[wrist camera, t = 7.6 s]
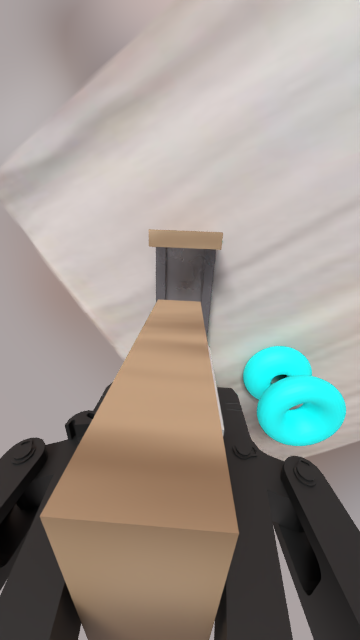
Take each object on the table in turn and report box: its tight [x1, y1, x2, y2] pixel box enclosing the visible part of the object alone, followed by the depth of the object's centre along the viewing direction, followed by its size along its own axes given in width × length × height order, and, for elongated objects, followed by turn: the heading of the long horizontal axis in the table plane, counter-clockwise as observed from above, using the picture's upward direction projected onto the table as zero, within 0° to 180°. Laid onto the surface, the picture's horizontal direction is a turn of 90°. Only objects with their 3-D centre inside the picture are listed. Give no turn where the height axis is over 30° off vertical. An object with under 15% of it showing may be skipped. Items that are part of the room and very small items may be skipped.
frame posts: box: [149, 229, 223, 250], centre depth 26 cm, size 18×7×6 cm, turn 178°
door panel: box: [40, 299, 239, 640], centre depth 10 cm, size 8×3×12 cm, turn 178°
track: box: [156, 247, 216, 338], centre depth 28 cm, size 14×7×2 cm, turn 178°
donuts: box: [243, 346, 346, 446], centre depth 28 cm, size 10×10×10 cm
